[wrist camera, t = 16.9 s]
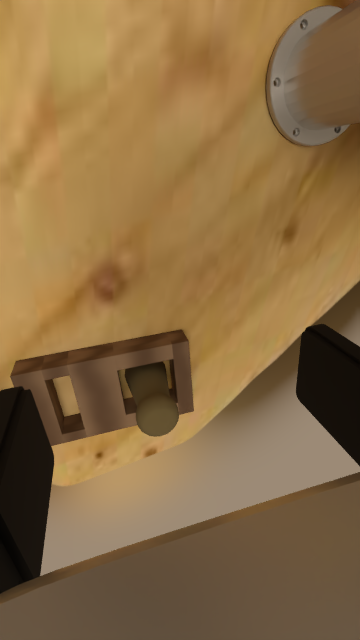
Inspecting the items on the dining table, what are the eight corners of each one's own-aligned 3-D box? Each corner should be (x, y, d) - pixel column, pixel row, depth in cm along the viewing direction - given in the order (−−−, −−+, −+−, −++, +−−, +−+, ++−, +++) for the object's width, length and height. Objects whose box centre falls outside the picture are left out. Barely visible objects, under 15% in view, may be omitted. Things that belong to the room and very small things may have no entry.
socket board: (181, 329, 45) (188, 341, 42) (187, 396, 50) (193, 411, 47) (16, 361, 41) (10, 376, 37) (41, 430, 46) (37, 449, 43)
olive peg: (166, 386, 48) (185, 439, 39) (126, 392, 47) (135, 449, 37) (165, 351, 46) (185, 399, 36) (123, 357, 44) (132, 408, 35)
